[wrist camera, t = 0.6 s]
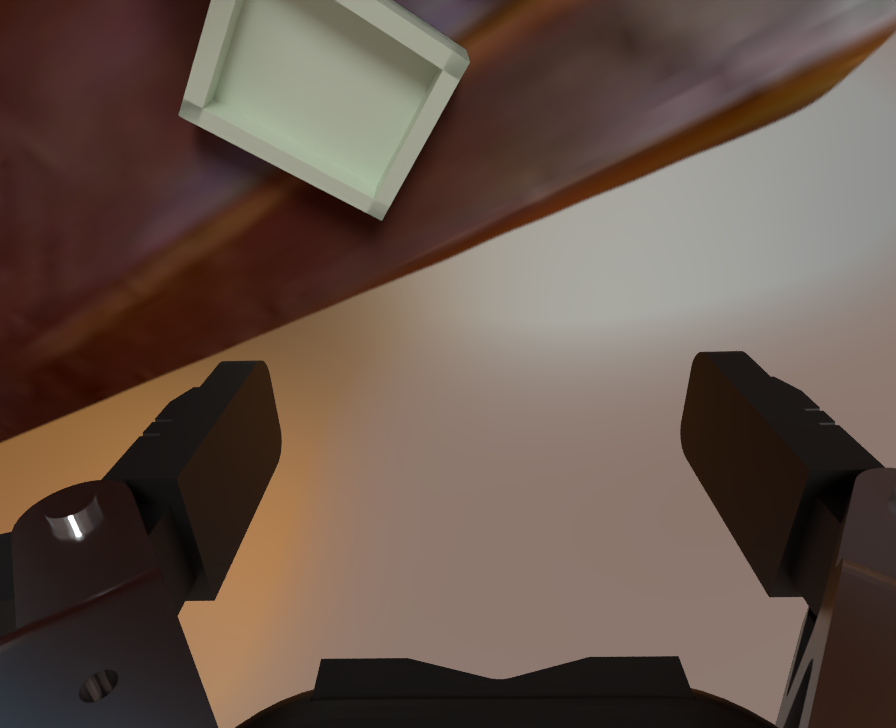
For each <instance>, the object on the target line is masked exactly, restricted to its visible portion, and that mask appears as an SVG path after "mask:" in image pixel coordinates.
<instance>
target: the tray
mask: <svg viewBox="0 0 896 728" xmlns="http://www.w3.org/2000/svg"><path fill="white" fill-rule="evenodd" d="M469 63H470V61H469V57H468V54H467V50H466V49H464V48H463V47H461V46H460V45H458V44H457V43H455V42H454V41H452V40H451V39H449V38H448V37H446V36H445V35H443V34H442V33H440V32H439V31H437V30H436V29H434V28H433V27H431V26H430V25H429V24H427V23H426V22H424V21H423V20H421V19H420V18H418V17H417V16H415V15H414V14H412V13H411V12H409V11H408V10H406V9H405V8H403V7H402V6H400V5H399V4H397V3H396V2H394V1H393V0H211V2H210V6H209V9H208V13H207V16H206V20H205V23H204V27H203V31H202V34H201V38H200V41H199V45H198V48H197V52H196V55H195V59H194V62H193V66H192V70H191V73H190V77H189V80H188V84H187V87H186V91H185V94H184V98H183V101H182V105H181V109H180V112H179V116H180V117H182V118H184V119H186V120H188V121H190V122H191V123H193V124H195V125H197V126H199V127H201V128H203V129H205V130H207V131H209V132H211V133H213V134H215V135H217V136H219V137H220V138H222V139H224V140H226V141H228V142H230V143H232V144H234V145H236V146H238V147H240V148H242V149H244V150H246V151H248V152H249V153H251V154H253V155H255V156H257V157H259V158H261V159H263V160H265V161H267V162H269V163H271V164H273V165H275V166H277V167H279V168H280V169H282V170H284V171H286V172H288V173H290V174H292V175H294V176H296V177H298V178H300V179H302V180H304V181H306V182H308V183H309V184H311V185H313V186H315V187H317V188H319V189H321V190H323V191H325V192H327V193H329V194H331V195H333V196H335V197H337V198H338V199H340V200H342V201H344V202H346V203H348V204H350V205H352V206H354V207H356V208H358V209H360V210H362V211H364V212H366V213H367V214H369V215H371V216H373V217H375V218H377V219H379V220H381V221H382V220H383V218H384V216H385V214H386V212H387V211H388V209H389V207H390V205H391V203H392V202H393V200H394V198H395V196H396V194H397V193H398V191H399V189H400V187H401V185H402V184H403V182H404V180H405V178H406V176H407V175H408V173H409V171H410V169H411V167H412V166H413V164H414V162H415V160H416V158H417V157H418V155H419V153H420V151H421V149H422V148H423V146H424V144H425V142H426V140H427V139H428V137H429V135H430V133H431V131H432V130H433V128H434V126H435V124H436V122H437V121H438V119H439V117H440V115H441V113H442V111H443V110H444V108H445V106H446V104H447V102H448V101H449V99H450V97H451V95H452V93H453V92H454V90H455V88H456V86H457V84H458V83H459V81H460V79H461V77H462V75H463V74H464V72H465V70H466V68H467V66H468V65H469Z"/></svg>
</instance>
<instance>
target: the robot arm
mask: <svg viewBox="0 0 896 728" xmlns="http://www.w3.org/2000/svg"><path fill="white" fill-rule="evenodd" d="M680 431H681V433H680V434H681V444H682V449H683V452H684V455H685V457H686V459H687V461H688V462H689V464H690V466H691V467H692V469H693V471H694V472H695V474H696V476H697V477H698V479H699V481H700V482H701V484H702V486H703V487H704V489H705V491H706V492H707V494H708V496H709V497H710V499H711V501H712V502H713V504H714V506H715V507H716V509H717V510H718V512H719V514H720V516H721V517H722V519H723V521H724V522H725V524H726V526H727V527H728V529H729V531H730V532H731V534H732V536H733V537H734V539H735V540H736V542H737V544H738V546H739V547H740V549H741V551H742V552H743V554H744V556H745V558H746V559H747V561H748V563H749V564H750V565H751V567H752V569H753V571H754V573H755V574H756V576H757V577H758V579H759V581H760V583H761V584H762V586H763V587H764V589H765V591H766V593H767V594H768V596H769V597H803V598H804V599H805V601H806V602H807V604H808V605H809V607H808V609H807V612H806V615H805V618H804V620H803V623H802V627H801V630H800V634H799V638H798V642H797V646H796V650H795V653H794V657H793V661H792V665H791V668H790V672H789V676H788V680H787V684H786V687H785V691H784V695H783V699H782V703H781V706H780V710H779V714H778V717H777V721H776V725H774V724H772V723H771V722H769V721H767V720H765V719H764V718H762V717H760V716H758V715H757V714H755V713H753V712H751V711H749V710H748V709H746V708H743V707H741V706H739V705H737V704H735V703H732V702H730V701H728V700H726V699H724V698H720V697H718V696H715V695H712V694H709V693H706V692H704V691H700V690H696V689H692V688H690V686H689V683H688V680H687V678H686V675H685V673H684V670H683V667H682V665H681V662H680V659H679V657H678V656H672V657H671V656H669V657H668V656H665V657H664V656H663V657H588V658H584V659H581V660H577V661H573V662H569V663H565V664H561V665H558V666H554V667H550V668H547V669H543V670H539V671H535V672H531V673H527V674H524V675H520V676H516V677H512V678H508V679H490V678H486V677H482V676H478V675H474V674H470V673H466V672H462V671H458V670H454V669H450V668H445V667H441V666H437V665H433V664H429V663H425V662H421V661H417V660H413V659H408V658H386V659H385V658H383V659H382V658H377V659H321V662H320V667H319V671H318V675H317V679H316V684H315V688H314V690H310V691H307V692H303V693H300V694H297V695H295V696H292V697H290V698H287V699H285V700H282V701H280V702H278V703H276V704H274V705H272V706H270V707H268V708H266V709H264V710H262V711H260V712H258V713H257V714H256V715H254V716H252V717H251V718H249V719H247V720H246V721H244V722H243V723H241V724H240V725H238V726H237V727H236V728H896V468H885V467H884V466H883V465H882V464H881V463H880V462H879V461H878V460H876V459H875V458H874V457H873V456H872V455H871V454H870V453H869V452H868V451H867V450H866V449H864V448H863V447H862V446H861V445H860V444H859V443H858V442H857V441H856V440H855V439H853V438H852V437H851V436H850V435H849V434H848V433H847V432H846V431H845V430H844V429H843V428H841V427H840V426H839V425H835V421H834V420H833V419H832V418H830V417H829V416H828V415H827V414H826V413H825V412H824V411H820V409H819V406H817V405H816V404H815V403H814V402H813V401H812V400H811V399H810V398H809V397H808V396H806V395H805V394H804V393H803V392H802V391H801V390H799V389H797V388H795V387H793V386H791V385H789V384H787V383H785V382H783V381H781V380H780V379H778V378H775V377H770V376H769V375H768V374H767V373H766V372H765V371H764V370H763V369H762V368H761V367H760V366H759V365H758V364H757V363H756V362H755V361H754V360H753V359H752V358H751V357H749V356H748V355H747V354H746V353H745V352H743V351H728V352H727V351H726V352H699V353H698V354H697V355H696V356H695V358H694V360H693V363H692V367H691V372H690V378H689V384H688V389H687V395H686V399H685V405H684V410H683V416H682V421H681V430H680ZM281 443H282V441H281V429H280V424H279V419H278V414H277V409H276V404H275V399H274V394H273V388H272V383H271V378H270V374H269V370H268V367H267V365H266V364H265V362H264V361H222V362H221V363H219V364H218V366H217V367H216V368H215V369H214V371H213V372H212V373H211V374H210V375H209V376H208V378H207V379H206V380H205V382H204V383H203V384H202V385H201V386H200V387H193V388H192V389H190V390H189V391H187V392H185V393H184V394H182V395H180V396H179V397H177V398H176V399H174V400H172V401H171V402H169V404H168V405H167V406H166V407H165V408H164V409H163V410H162V412H161V413H160V414H159V415H158V416H157V417H156V418H155V422H152V423H151V424H150V425H149V427H147V429H146V430H145V431H144V432H143V436H140V437H139V438H138V439H137V440H136V441H135V442H134V443H133V445H132V446H131V447H130V448H129V449H128V450H127V451H126V453H125V454H124V455H123V456H122V457H121V458H120V459H119V460H118V462H117V463H116V464H115V465H114V466H113V467H112V468H111V470H110V471H109V472H108V473H107V474H106V475H105V476H104V478H103V479H102V480H96V481H89V482H84V483H80V484H77V485H73V486H70V487H67V488H64V489H62V490H60V491H57V492H55V493H53V494H51V495H49V496H47V497H45V498H44V499H42V500H40V501H39V502H37V503H36V504H35V505H33V506H32V507H31V508H29V509H28V510H27V511H26V512H25V513H24V514H23V515H22V516H21V517H20V518H19V519H18V521H17V522H16V524H15V525H14V527H13V530H12V532H9V533H4V534H0V728H218V726H217V723H216V720H215V717H214V715H213V712H212V709H211V707H210V704H209V701H208V698H207V696H206V693H205V690H204V688H203V685H202V682H201V679H200V677H199V674H198V671H197V668H196V665H195V663H194V660H193V657H192V655H191V652H190V649H189V646H188V644H187V641H186V638H185V635H184V633H183V630H182V627H181V624H180V622H179V619H178V614H179V612H180V610H181V608H182V606H183V604H184V602H185V601H211V600H212V601H214V600H215V598H216V596H217V594H218V592H219V590H220V588H221V585H222V583H223V581H224V579H225V577H226V574H227V572H228V570H229V568H230V566H231V564H232V562H233V559H234V557H235V555H236V553H237V551H238V549H239V546H240V544H241V542H242V540H243V538H244V536H245V534H246V531H247V529H248V527H249V525H250V522H251V521H252V518H253V516H254V514H255V512H256V510H257V507H258V505H259V503H260V501H261V499H262V497H263V495H264V492H265V490H266V488H267V486H268V484H269V482H270V479H271V477H272V475H273V473H274V471H275V469H276V467H277V464H278V462H279V458H280V454H281Z"/></svg>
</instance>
